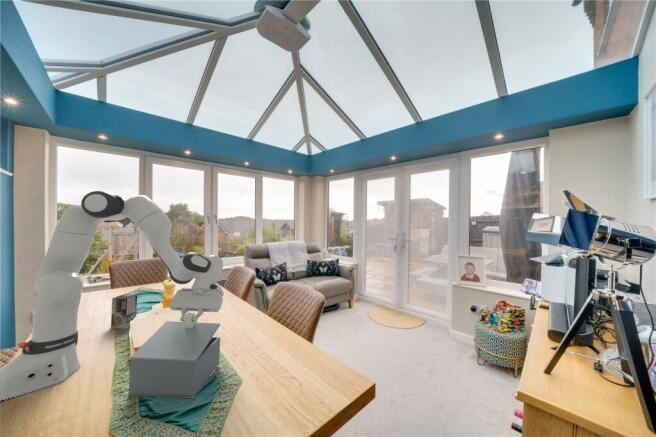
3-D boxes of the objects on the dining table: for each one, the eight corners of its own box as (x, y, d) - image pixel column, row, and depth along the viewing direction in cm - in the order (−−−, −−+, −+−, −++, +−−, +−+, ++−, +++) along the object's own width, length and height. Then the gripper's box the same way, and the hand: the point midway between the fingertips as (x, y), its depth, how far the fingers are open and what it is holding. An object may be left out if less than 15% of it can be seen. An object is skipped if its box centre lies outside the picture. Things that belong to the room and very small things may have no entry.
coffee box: (136, 324, 133) (138, 295, 133) (125, 329, 126) (127, 298, 127) (121, 323, 134) (123, 294, 134) (109, 328, 127) (111, 297, 128)
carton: (193, 398, 79) (195, 362, 80) (128, 395, 80) (130, 359, 80) (218, 366, 97) (220, 337, 98) (165, 364, 98) (167, 334, 98)
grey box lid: (195, 362, 80) (193, 347, 78) (130, 359, 80) (127, 344, 79) (220, 325, 97) (219, 312, 96) (166, 322, 97) (164, 310, 96)
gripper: (175, 284, 101) (158, 316, 91) (223, 286, 101) (210, 318, 91) (181, 291, 106) (165, 323, 96) (227, 293, 105) (215, 325, 95)
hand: (188, 321), depth 93 cm, fingers closed on grey box lid, 3 cm apart
